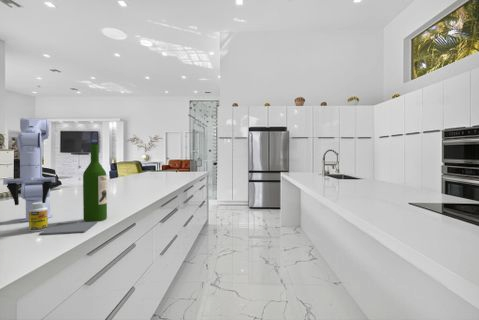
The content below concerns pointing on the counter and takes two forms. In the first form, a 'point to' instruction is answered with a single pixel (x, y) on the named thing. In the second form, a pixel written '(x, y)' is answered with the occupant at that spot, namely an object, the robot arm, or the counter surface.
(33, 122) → the robot arm
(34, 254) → the counter surface
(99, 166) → the wine bottle
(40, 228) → the supplement bottle
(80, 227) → the mat
